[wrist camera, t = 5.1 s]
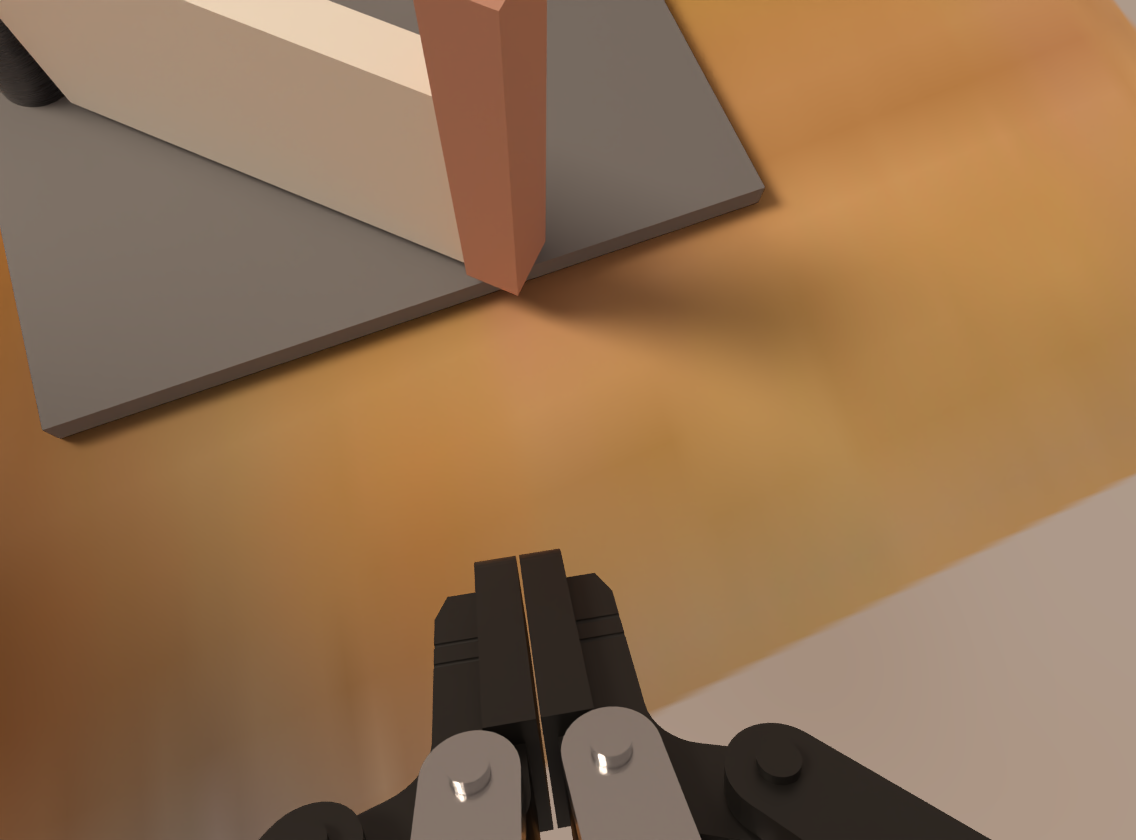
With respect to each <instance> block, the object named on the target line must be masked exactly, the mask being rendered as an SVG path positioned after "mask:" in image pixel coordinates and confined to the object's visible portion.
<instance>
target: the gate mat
mask: <svg viewBox="0 0 1136 840" xmlns="http://www.w3.org/2000/svg"><path fill="white" fill-rule="evenodd" d="M329 1H331V2H334V3H337V4H339V5H342V6H345V7H347V8H350V9H353V10H355V11H358V12H360V13H363V14H366V15H368V16H371V17H374V18H376V19H379V20H382V21H384V22H387V23H389V24H392V25H395V26H397V27H400V28H403V29H405V30H408V31H411V32H413V33H416V34H418V35H420V33H419V28H418V22H417V17H416V12H415V7H414V2H413V0H329ZM764 188H765V187H764V185H763V183H762V181H761V179H760V177H759V175H758V174H757V172H756V170H755V168H754V166H753V164H752V162H751V161H750V159H749V157H748V155H747V153H746V151H745V149H744V148H743V146H742V144H741V142H740V140H739V138H738V136H737V135H736V133H735V131H734V129H733V127H732V125H731V123H730V122H729V120H728V118H727V116H726V114H725V112H724V110H723V109H722V107H721V105H720V103H719V101H718V99H717V98H716V96H715V94H714V92H713V90H712V88H711V86H710V85H709V83H708V81H707V79H706V77H705V75H704V73H703V72H702V70H701V68H700V66H699V64H698V62H697V60H696V59H695V57H694V55H693V53H692V51H691V49H690V47H689V46H688V44H687V42H686V40H685V38H684V36H683V34H682V33H681V31H680V29H679V27H678V25H677V23H676V22H675V20H674V18H673V16H672V14H671V12H670V10H669V9H668V7H667V5H666V3H665V1H664V0H547V76H546V231H545V243H544V245H543V247H542V249H541V251H540V253H539V255H538V257H537V259H536V261H535V263H534V265H533V267H532V269H531V271H530V273H529V275H528V277H527V279H526V281H527V280H530V279H533V278H536V277H539V276H542V275H545V274H548V273H551V272H554V271H557V270H560V269H563V268H565V267H568V266H571V265H574V264H577V263H580V262H583V261H586V260H589V259H592V258H595V257H598V256H601V255H604V254H607V253H610V252H613V251H616V250H619V249H622V248H625V247H627V246H630V245H633V244H636V243H639V242H642V241H645V240H648V239H651V238H654V237H657V236H660V235H663V234H666V233H669V232H672V231H675V230H678V229H681V228H684V227H687V226H690V225H692V224H695V223H698V222H701V221H704V220H707V219H710V218H713V217H716V216H719V215H722V214H725V213H728V212H731V211H734V210H737V209H740V208H743V207H746V206H749V205H752V204H755V203H757V202H758V201H759V199H760V197H761V195H762V193H763V191H764ZM0 228H1V233H2V238H3V243H4V248H5V253H6V257H7V262H8V267H9V272H10V277H11V282H12V286H13V291H14V296H15V301H16V306H17V311H18V315H19V320H20V325H21V330H22V335H23V340H24V344H25V349H26V354H27V359H28V364H29V369H30V373H31V378H32V383H33V388H34V393H35V398H36V402H37V407H38V412H39V417H40V422H41V427H42V430H43V431H45V432H47V433H49V434H51V435H53V436H56V437H58V438H63V437H66V436H69V435H72V434H75V433H78V432H81V431H84V430H87V429H90V428H93V427H96V426H99V425H102V424H105V423H108V422H111V421H114V420H116V419H119V418H122V417H125V416H128V415H131V414H134V413H137V412H140V411H143V410H146V409H149V408H152V407H155V406H158V405H161V404H164V403H167V402H170V401H173V400H176V399H179V398H181V397H184V396H187V395H190V394H193V393H196V392H199V391H202V390H205V389H208V388H211V387H214V386H217V385H220V384H223V383H226V382H229V381H232V380H235V379H238V378H241V377H244V376H246V375H249V374H252V373H255V372H258V371H261V370H264V369H267V368H270V367H273V366H276V365H279V364H282V363H285V362H288V361H291V360H294V359H297V358H300V357H303V356H306V355H308V354H311V353H314V352H317V351H320V350H323V349H326V348H329V347H332V346H335V345H338V344H341V343H344V342H347V341H350V340H353V339H356V338H359V337H362V336H365V335H368V334H371V333H373V332H376V331H379V330H382V329H385V328H388V327H391V326H394V325H397V324H400V323H403V322H406V321H409V320H412V319H415V318H418V317H421V316H424V315H427V314H430V313H433V312H436V311H438V310H441V309H444V308H447V307H450V306H453V305H456V304H459V303H462V302H465V301H468V300H471V299H474V298H477V297H480V296H483V295H486V294H489V293H492V292H495V291H498V290H500V288H498V287H495V286H493V285H490V284H488V283H485V282H483V281H480V280H478V279H476V278H473V277H471V276H468V275H467V274H466V269H465V264H464V262H461V261H459V260H456V259H454V258H451V257H449V256H446V255H444V254H441V253H439V252H437V251H434V250H432V249H429V248H427V247H424V246H422V245H419V244H417V243H414V242H412V241H410V240H407V239H405V238H402V237H400V236H397V235H395V234H392V233H390V232H387V231H385V230H383V229H380V228H378V227H375V226H373V225H370V224H368V223H365V222H363V221H360V220H358V219H356V218H353V217H351V216H348V215H346V214H343V213H341V212H338V211H336V210H333V209H331V208H329V207H326V206H324V205H321V204H319V203H316V202H314V201H311V200H309V199H306V198H304V197H302V196H299V195H297V194H294V193H292V192H289V191H287V190H284V189H282V188H279V187H277V186H275V185H272V184H270V183H267V182H265V181H262V180H260V179H257V178H255V177H252V176H250V175H248V174H245V173H243V172H240V171H238V170H235V169H233V168H230V167H228V166H225V165H223V164H221V163H218V162H216V161H213V160H211V159H208V158H206V157H203V156H201V155H198V154H196V153H194V152H191V151H189V150H186V149H184V148H181V147H179V146H176V145H174V144H171V143H169V142H167V141H164V140H162V139H159V138H157V137H154V136H152V135H149V134H147V133H144V132H142V131H140V130H137V129H135V128H132V127H130V126H127V125H125V124H122V123H120V122H117V121H115V120H113V119H110V118H108V117H105V116H103V115H100V114H98V113H95V112H93V111H90V110H88V109H85V108H83V107H81V106H78V105H76V104H73V103H71V102H70V101H69V100H68V99H67V98H66V96H64V97H63V98H61V99H60V100H58V101H56V102H54V103H51V104H48V105H45V106H40V107H24V106H20V105H17V104H15V103H12V102H11V101H9V100H8V99H7V98H6V97H5V96H4V95H3V94H2V93H1V92H0Z"/></svg>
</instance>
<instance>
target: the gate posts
mask: <svg viewBox="0 0 1136 840" xmlns="http://www.w3.org/2000/svg"><path fill="white" fill-rule="evenodd" d="M0 92H1V93H2V94H3V95H4V96H5V97H6V98H7V99H8V100H9V101H11V102H12V103H15V104H17V105H20V106H24V107H40V106H45V105H48V104H51V103H54V102H56V101H58V100H60V99H61V98H63V97H64V96H65V95H64V94H63V93H62V92H61V91H60V89H59V88H58V87H57V86H56V85H55V83H54V82H53V81H52V80H51V79H50V77H49V76H48V75H47V74H46V73H45V71H44V70H43V69H42V68H41V67H40V65H39V64H38V63H37V62H36V61H35V60H34V58H33V57H32V56H31V55H30V54H29V52H28V51H27V50H26V49H25V48H24V46H23V45H22V44H21V43H20V42H19V40H18V39H17V38H16V37H15V36H14V34H13V33H12V32H11V31H10V30H9V29H8V27H7V26H6V25H5V24H4V23H3V21H2V20H1V19H0Z"/></svg>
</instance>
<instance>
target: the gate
mask: <svg viewBox="0 0 1136 840" xmlns="http://www.w3.org/2000/svg"><path fill="white" fill-rule="evenodd" d="M413 2H414V7H415V12H416V17H417V22H418V28H419V33H420V35H418V34H416V33H413V32H411V31H408V30H405V29H403V28H400V27H397V26H395V25H392V24H389V23H387V22H384V21H382V20H379V19H376V18H374V17H371V16H368V15H366V14H363V13H360V12H358V11H355V10H353V9H350V8H347V7H345V6H342V5H339V4H337V3H334V2H331V1H329V0H0V19H1V20H2V21H3V23H4V24H5V25H6V26H7V27H8V29H9V30H10V31H11V32H12V33H13V34H14V36H15V37H16V38H17V39H18V40H19V42H20V43H21V44H22V45H23V46H24V48H25V49H26V50H27V51H28V52H29V54H30V55H31V56H32V57H33V58H34V60H35V61H36V62H37V63H38V64H39V65H40V67H41V68H42V69H43V70H44V71H45V73H46V74H47V75H48V76H49V77H50V79H51V80H52V81H53V82H54V83H55V85H56V86H57V87H58V88H59V89H60V91H61V92H62V93H63V94H64V95H65V96H66V98H67V99H68V100H69V101H70V102H71V103H73V104H76V105H78V106H81V107H83V108H85V109H88V110H90V111H93V112H95V113H98V114H100V115H103V116H105V117H108V118H110V119H113V120H115V121H117V122H120V123H122V124H125V125H127V126H130V127H132V128H135V129H137V130H140V131H142V132H144V133H147V134H149V135H152V136H154V137H157V138H159V139H162V140H164V141H167V142H169V143H171V144H174V145H176V146H179V147H181V148H184V149H186V150H189V151H191V152H194V153H196V154H198V155H201V156H203V157H206V158H208V159H211V160H213V161H216V162H218V163H221V164H223V165H225V166H228V167H230V168H233V169H235V170H238V171H240V172H243V173H245V174H248V175H250V176H252V177H255V178H257V179H260V180H262V181H265V182H267V183H270V184H272V185H275V186H277V187H279V188H282V189H284V190H287V191H289V192H292V193H294V194H297V195H299V196H302V197H304V198H306V199H309V200H311V201H314V202H316V203H319V204H321V205H324V206H326V207H329V208H331V209H333V210H336V211H338V212H341V213H343V214H346V215H348V216H351V217H353V218H356V219H358V220H360V221H363V222H365V223H368V224H370V225H373V226H375V227H378V228H380V229H383V230H385V231H387V232H390V233H392V234H395V235H397V236H400V237H402V238H405V239H407V240H410V241H412V242H414V243H417V244H419V245H422V246H424V247H427V248H429V249H432V250H434V251H437V252H439V253H441V254H444V255H446V256H449V257H451V258H454V259H456V260H459V261H461V262H464V264H465V269H466V274H467V275H468V276H471V277H473V278H476V279H478V280H480V281H483V282H485V283H488V284H490V285H493V286H495V287H498V288H500V289H502V290H505V291H507V292H510V293H512V294H515V295H517V296H518V295H519V293H520V291H521V289H522V287H523V285H524V283H525V281H526V279H527V277H528V275H529V273H530V271H531V269H532V267H533V265H534V263H535V261H536V259H537V257H538V255H539V253H540V251H541V249H542V247H543V245H544V243H545V231H546V76H547V0H413Z"/></svg>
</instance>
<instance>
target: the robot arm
mask: <svg viewBox="0 0 1136 840" xmlns="http://www.w3.org/2000/svg"><path fill="white" fill-rule="evenodd" d="M519 557H520V565H521V573H522V580H523V588H524V595H525V603H526V610H527V618H528V625H529V633H530V640H531V648H532V655H533V663H534V670H535V678H536V685H537V693H538V700H539V708H540V715H541V722H542V728H543V735H544V741H545V748H546V754H547V760H548V767H549V773H550V780H551V786H552V793H553V799H554V805H555V812H556V818H557V824H558V828H562V827H567V826H571V829H572V836H573V840H991V839H989V838H987V837H985V836H984V835H982V834H980V833H978V832H977V831H975V830H973V829H972V828H970V827H968V826H966V825H965V824H963V823H961V822H959V821H958V820H956V819H954V818H953V817H951V816H949V815H947V814H945V813H944V812H942V811H940V810H939V809H937V808H935V807H934V806H932V805H930V804H928V803H927V802H925V801H923V800H921V799H920V798H918V797H916V796H915V795H913V794H911V793H909V792H908V791H906V790H904V789H902V788H901V787H899V786H897V785H895V784H894V783H892V782H890V781H888V780H887V779H885V778H883V777H882V776H880V775H878V774H877V773H875V772H873V771H871V770H870V769H868V768H866V767H864V766H862V765H861V764H859V763H858V762H856V761H854V760H852V759H851V758H849V757H847V756H845V755H843V754H842V753H840V752H838V751H836V750H835V749H833V748H831V747H830V746H828V745H826V744H825V743H823V742H821V741H819V740H818V739H816V738H814V737H813V736H811V735H809V734H807V733H806V732H804V731H801V730H800V729H797V728H795V727H792V726H789V725H784V724H779V723H763V724H758V725H753V726H751V727H748V728H746V729H744V730H742V731H741V732H739V733H738V734H737V735H736V736H735V737H734V738H733V739H732V740H731V742H730V743H729V745H728V746H720V745H711V744H702V743H695V742H689V741H686V740H683V739H680V738H678V737H676V736H673V735H671V734H670V733H668V732H667V731H665V730H663V729H662V728H661V727H660V726H659V725H658V724H657V723H656V722H655V721H654V720H653V719H652V718H651V716H650V714H649V713H648V711H647V708H646V706H645V703H644V700H643V696H642V693H641V689H640V686H639V682H638V679H637V675H636V672H635V669H634V665H633V662H632V658H631V655H630V651H629V648H628V644H627V641H626V637H625V636H624V630H623V627H622V623H621V620H620V618H619V613H618V609H617V606H616V603H615V599H614V596H613V592H612V590H611V589H610V588H609V587H608V586H607V585H606V584H605V583H604V582H603V581H602V580H601V579H600V578H599V577H598V576H597V575H596V574H595V573H591V574H585V575H579V576H573V577H567V578H566V574H565V569H564V565H563V560H562V555H561V551H560V549H554V550H548V551H542V552H535V553H529V554H523V555H519ZM474 571H475V592H476V593H470V594H464V595H457V596H451V597H447V599H446V601H445V603H444V604H443V606H442V608H441V610H440V612H439V613H438V615H437V617H436V619H435V631H434V646H435V649H434V676H433V722H432V747H431V752H430V754H429V755H428V756H427V758H426V759H425V761H424V763H423V765H422V767H421V769H420V773H419V776H418V777H417V778H416V779H415V780H414V781H413V782H412V783H411V784H410V785H409V786H408V787H407V788H406V789H405V790H403V791H402V792H400V793H399V794H398V795H396V796H394V797H393V798H391V799H389V800H387V801H385V802H383V803H381V804H379V805H377V806H375V807H373V808H371V809H369V810H367V811H365V812H363V813H361V814H359V815H356V814H355V813H354V812H353V811H352V810H351V809H349V808H348V807H346V806H344V805H342V804H339V803H334V802H317V803H312V804H308V805H304V806H302V807H300V808H297V809H295V810H293V811H292V812H290V813H288V814H286V815H285V816H284V817H282V818H281V819H280V820H278V821H277V822H276V823H275V824H274V825H273V826H272V827H271V828H269V830H268V831H267V832H266V833H265V834H264V835H263V836H262V837H261V838H260V839H259V840H540V832H543V831H548V830H553V821H552V814H551V806H550V799H549V791H548V783H547V775H546V768H545V760H544V752H543V745H542V737H541V729H540V722H539V714H538V706H537V699H536V691H535V683H534V676H533V668H532V661H531V653H530V646H529V639H528V632H527V625H526V619H525V612H524V606H523V600H522V593H521V587H520V580H519V574H518V567H517V561H516V556H512V557H505V558H499V559H493V560H487V561H480V562H475V563H474Z"/></svg>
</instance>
